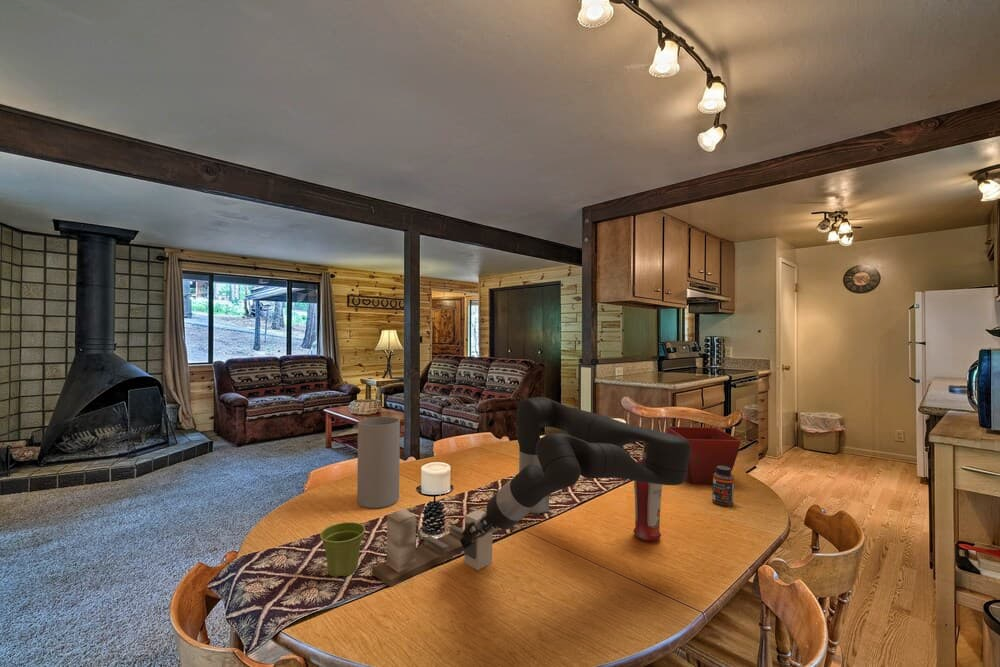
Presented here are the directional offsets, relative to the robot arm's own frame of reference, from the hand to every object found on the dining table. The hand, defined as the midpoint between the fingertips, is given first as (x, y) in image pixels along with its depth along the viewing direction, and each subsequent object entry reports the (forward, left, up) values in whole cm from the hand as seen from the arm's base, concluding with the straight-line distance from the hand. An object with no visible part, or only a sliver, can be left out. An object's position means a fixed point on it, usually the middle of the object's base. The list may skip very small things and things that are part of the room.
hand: (472, 539), depth 102 cm
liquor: (-43, -17, -5) cm, 47 cm away
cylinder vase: (+35, -30, -5) cm, 46 cm away
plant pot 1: (+28, +8, -5) cm, 29 cm away
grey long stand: (+11, +1, -5) cm, 12 cm away
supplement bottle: (-72, -44, -5) cm, 85 cm away
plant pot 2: (-73, -67, -5) cm, 100 cm away
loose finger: (-2, +1, -5) cm, 5 cm away
